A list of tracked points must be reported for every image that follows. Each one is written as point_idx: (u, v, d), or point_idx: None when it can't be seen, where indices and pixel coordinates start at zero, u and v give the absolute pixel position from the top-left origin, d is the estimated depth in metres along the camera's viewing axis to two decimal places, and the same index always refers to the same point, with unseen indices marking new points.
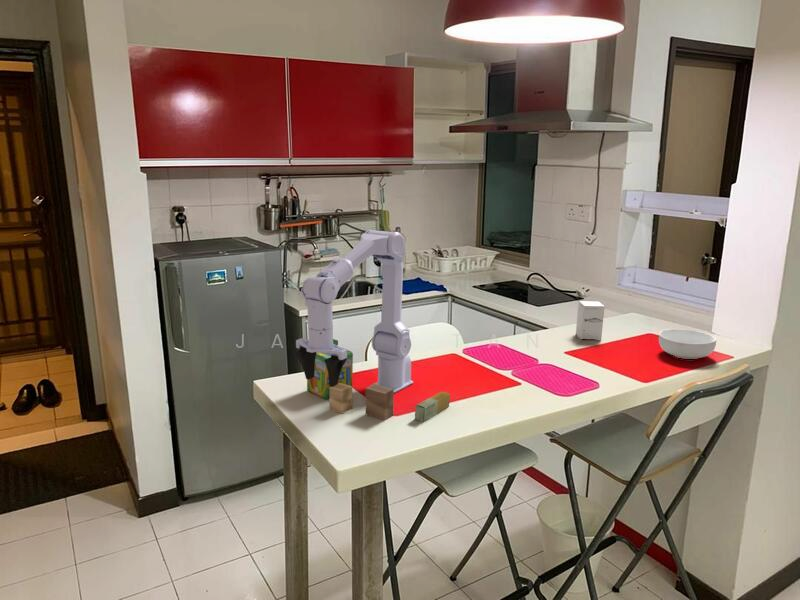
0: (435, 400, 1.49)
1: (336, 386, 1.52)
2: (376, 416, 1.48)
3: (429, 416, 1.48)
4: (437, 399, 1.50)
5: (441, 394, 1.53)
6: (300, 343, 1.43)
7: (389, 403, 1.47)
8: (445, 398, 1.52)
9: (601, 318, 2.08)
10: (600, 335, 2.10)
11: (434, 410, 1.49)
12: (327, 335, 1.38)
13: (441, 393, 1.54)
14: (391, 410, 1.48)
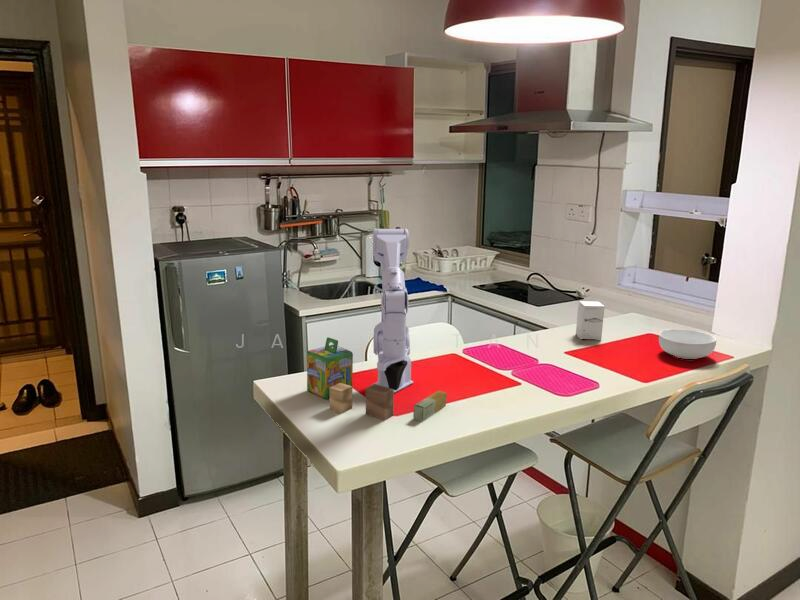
0: (433, 399, 1.50)
1: (336, 386, 1.52)
2: (376, 416, 1.48)
3: (427, 416, 1.48)
4: (434, 398, 1.51)
5: (438, 393, 1.54)
6: None
7: (389, 403, 1.47)
8: (442, 397, 1.53)
9: (601, 318, 2.08)
10: (600, 335, 2.10)
11: (432, 409, 1.49)
12: (386, 345, 1.48)
13: (438, 392, 1.54)
14: (391, 410, 1.48)
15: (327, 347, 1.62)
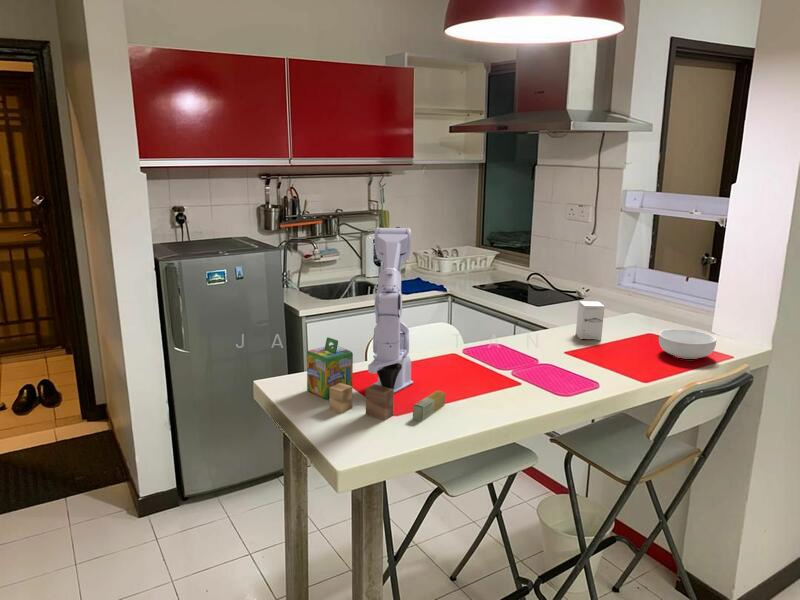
0: (432, 399, 1.50)
1: (336, 386, 1.52)
2: (376, 416, 1.48)
3: (426, 415, 1.48)
4: (433, 398, 1.51)
5: (437, 393, 1.54)
6: None
7: (389, 403, 1.47)
8: (441, 397, 1.53)
9: (601, 318, 2.08)
10: (600, 335, 2.10)
11: (431, 409, 1.49)
12: (379, 348, 1.46)
13: (437, 392, 1.54)
14: (391, 410, 1.48)
15: (327, 347, 1.62)
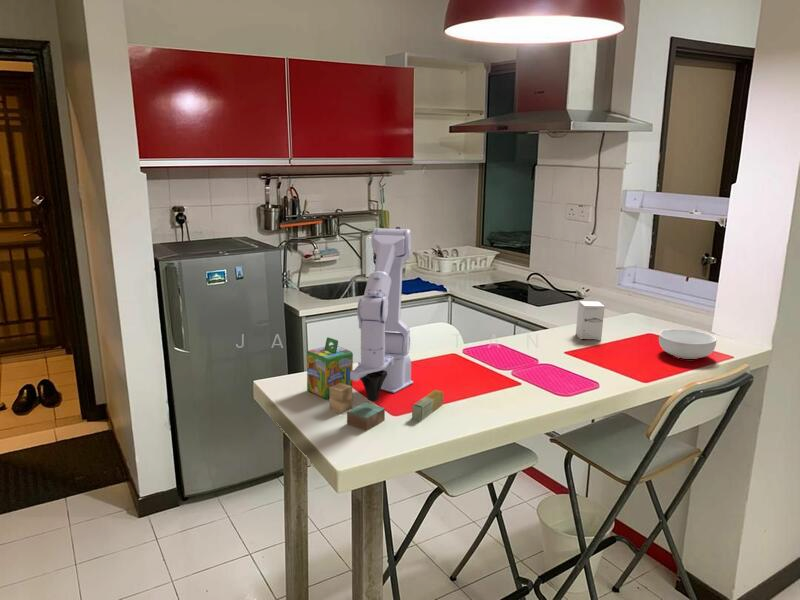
0: (431, 399, 1.50)
1: (336, 386, 1.52)
2: None
3: (425, 415, 1.48)
4: (432, 397, 1.51)
5: (435, 392, 1.54)
6: None
7: (375, 420, 1.43)
8: (439, 396, 1.53)
9: (601, 318, 2.08)
10: (600, 335, 2.10)
11: (430, 409, 1.50)
12: (363, 354, 1.41)
13: (435, 391, 1.55)
14: (380, 413, 1.44)
15: (327, 347, 1.62)
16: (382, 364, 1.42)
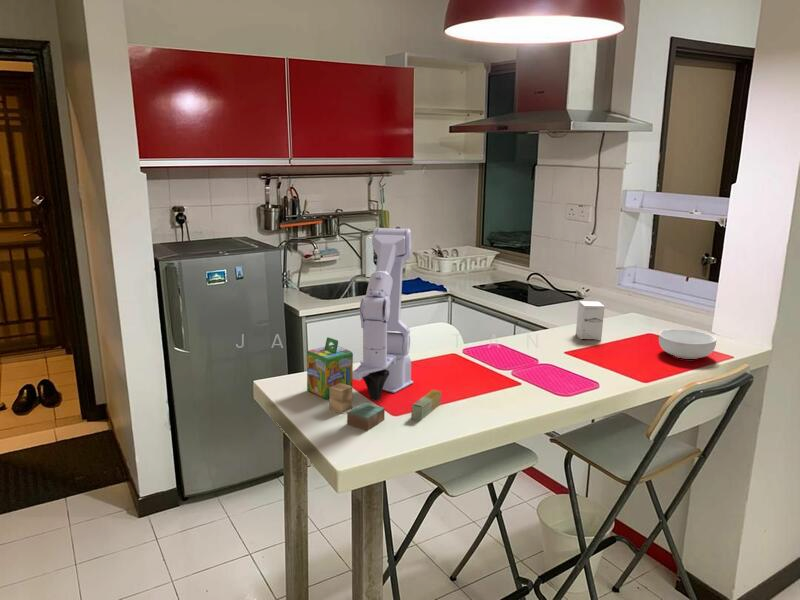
0: (429, 398, 1.50)
1: (336, 386, 1.52)
2: None
3: (424, 415, 1.48)
4: (431, 397, 1.51)
5: (433, 392, 1.54)
6: None
7: (375, 419, 1.43)
8: (437, 396, 1.54)
9: (601, 318, 2.08)
10: (600, 335, 2.10)
11: (428, 408, 1.50)
12: (365, 354, 1.42)
13: (433, 391, 1.55)
14: (380, 413, 1.45)
15: (327, 347, 1.62)
16: (384, 363, 1.43)
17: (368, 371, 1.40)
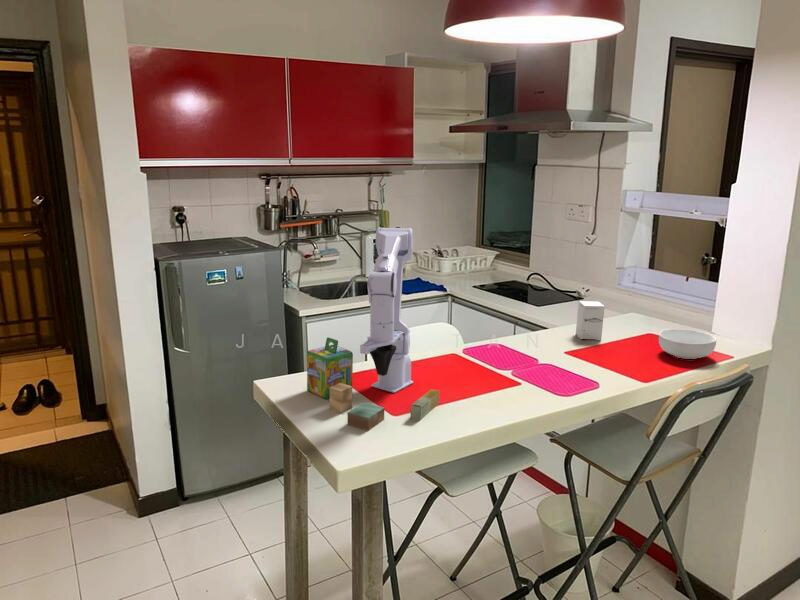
0: (428, 398, 1.50)
1: (336, 386, 1.52)
2: None
3: (424, 415, 1.48)
4: (429, 397, 1.51)
5: (431, 392, 1.54)
6: None
7: (375, 419, 1.43)
8: (436, 396, 1.54)
9: (601, 318, 2.08)
10: (600, 335, 2.10)
11: (427, 408, 1.50)
12: (372, 328, 1.43)
13: (431, 391, 1.55)
14: (380, 413, 1.45)
15: (327, 347, 1.62)
16: (391, 338, 1.44)
17: (375, 345, 1.41)
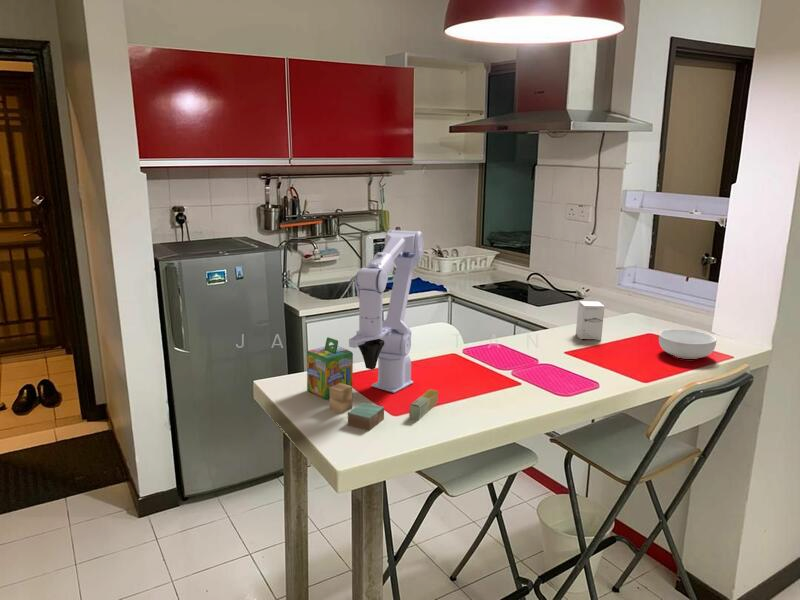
0: (427, 398, 1.51)
1: (336, 386, 1.52)
2: None
3: (422, 414, 1.48)
4: (428, 397, 1.52)
5: (430, 392, 1.55)
6: None
7: (376, 419, 1.43)
8: (434, 395, 1.54)
9: (601, 318, 2.08)
10: (600, 335, 2.10)
11: (426, 408, 1.50)
12: (361, 323, 1.47)
13: (430, 391, 1.55)
14: (380, 412, 1.45)
15: (327, 347, 1.62)
16: (380, 333, 1.48)
17: (364, 339, 1.45)
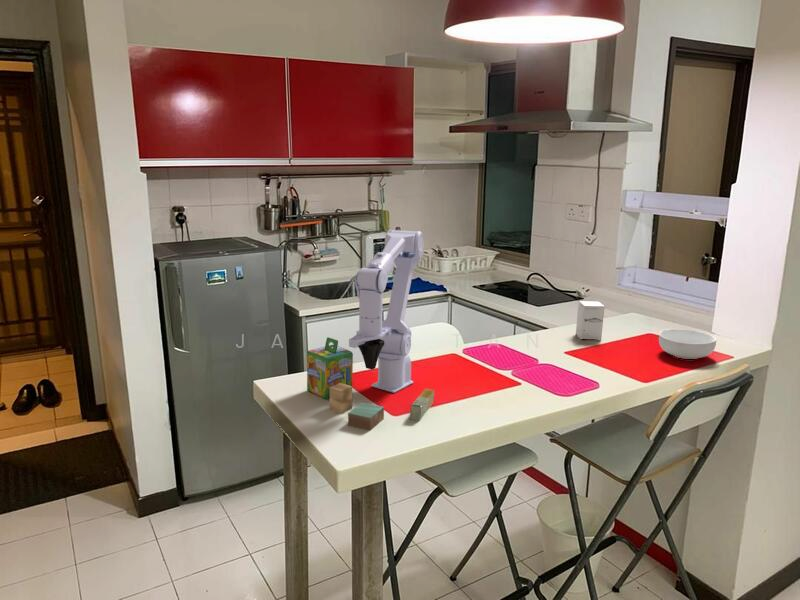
0: (425, 398, 1.51)
1: (336, 386, 1.52)
2: None
3: (423, 414, 1.49)
4: (426, 396, 1.52)
5: (427, 391, 1.55)
6: None
7: (376, 419, 1.43)
8: (431, 395, 1.54)
9: (601, 318, 2.08)
10: (600, 335, 2.10)
11: (425, 408, 1.50)
12: (361, 323, 1.47)
13: (426, 390, 1.55)
14: (380, 412, 1.45)
15: (327, 347, 1.62)
16: (380, 333, 1.48)
17: (364, 339, 1.45)
